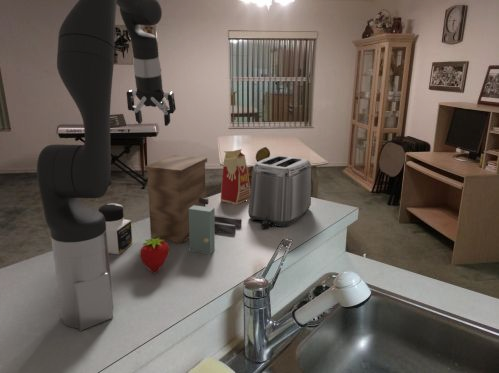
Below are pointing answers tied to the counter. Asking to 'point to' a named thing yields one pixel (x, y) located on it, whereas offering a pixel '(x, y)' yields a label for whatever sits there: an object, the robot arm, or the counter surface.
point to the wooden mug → (260, 156)
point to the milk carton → (235, 178)
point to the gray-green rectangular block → (202, 229)
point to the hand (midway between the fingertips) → (153, 123)
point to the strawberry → (154, 254)
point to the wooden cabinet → (179, 197)
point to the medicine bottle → (116, 228)
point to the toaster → (280, 190)
